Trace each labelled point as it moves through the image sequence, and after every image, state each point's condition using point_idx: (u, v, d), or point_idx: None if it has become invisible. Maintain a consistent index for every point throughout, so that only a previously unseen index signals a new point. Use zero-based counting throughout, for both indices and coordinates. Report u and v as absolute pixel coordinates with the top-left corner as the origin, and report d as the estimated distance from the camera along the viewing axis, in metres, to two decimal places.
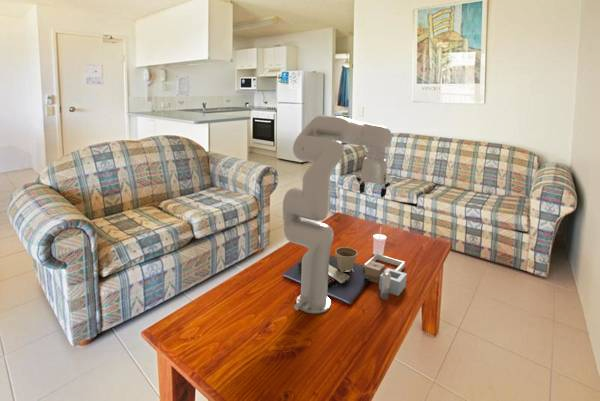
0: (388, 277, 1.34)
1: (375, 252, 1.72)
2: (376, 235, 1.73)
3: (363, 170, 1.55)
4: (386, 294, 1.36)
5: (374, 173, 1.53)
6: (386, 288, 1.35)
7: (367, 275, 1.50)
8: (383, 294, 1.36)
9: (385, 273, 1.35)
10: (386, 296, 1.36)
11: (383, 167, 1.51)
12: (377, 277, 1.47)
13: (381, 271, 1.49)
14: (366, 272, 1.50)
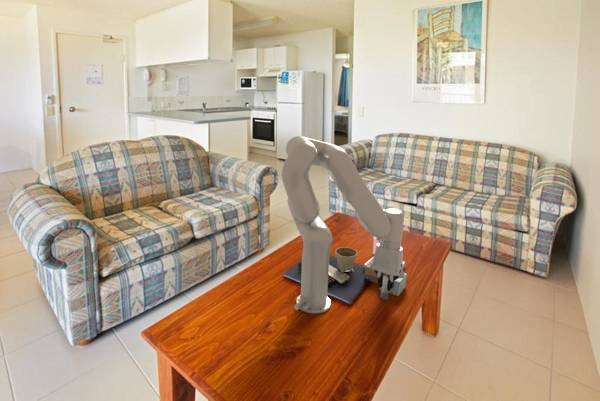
0: (388, 277, 1.34)
1: None
2: None
3: (375, 258, 1.33)
4: (386, 294, 1.36)
5: (388, 264, 1.31)
6: (386, 288, 1.35)
7: (367, 275, 1.50)
8: (383, 294, 1.36)
9: None
10: (386, 296, 1.36)
11: (399, 258, 1.29)
12: (377, 277, 1.47)
13: None
14: (366, 272, 1.49)
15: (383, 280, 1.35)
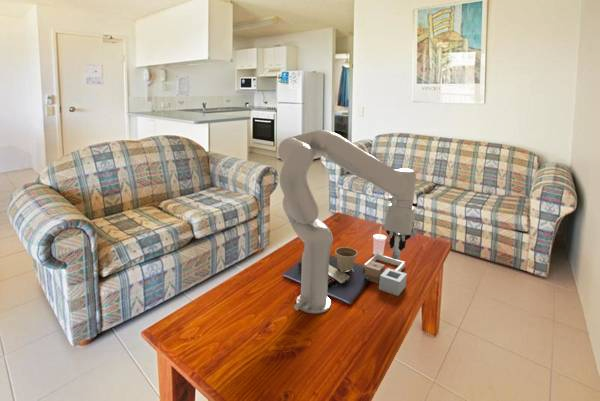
0: (400, 237, 1.36)
1: (375, 252, 1.72)
2: (376, 235, 1.73)
3: (387, 218, 1.36)
4: (398, 254, 1.39)
5: (400, 223, 1.33)
6: (398, 248, 1.38)
7: (367, 275, 1.50)
8: (394, 254, 1.39)
9: (397, 233, 1.38)
10: (398, 256, 1.39)
11: (411, 216, 1.31)
12: (377, 277, 1.47)
13: (381, 271, 1.49)
14: (366, 272, 1.49)
15: (395, 240, 1.37)
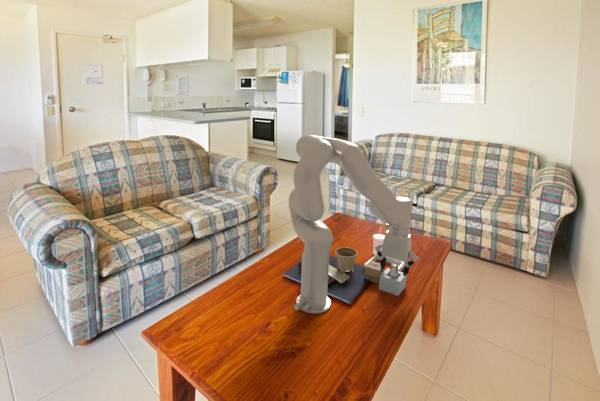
0: (396, 269, 1.40)
1: (375, 252, 1.72)
2: (376, 235, 1.73)
3: (384, 245, 1.39)
4: None
5: (397, 250, 1.36)
6: None
7: (367, 275, 1.50)
8: None
9: (393, 265, 1.41)
10: None
11: (408, 244, 1.34)
12: (377, 277, 1.47)
13: (381, 271, 1.49)
14: (366, 272, 1.49)
15: (391, 272, 1.41)
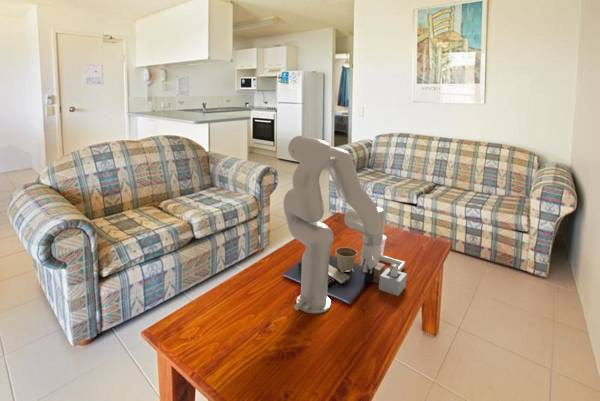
0: (396, 269, 1.40)
1: None
2: None
3: None
4: None
5: None
6: None
7: None
8: None
9: (393, 265, 1.41)
10: None
11: (362, 251, 1.40)
12: (377, 277, 1.47)
13: (381, 271, 1.49)
14: None
15: (391, 272, 1.41)
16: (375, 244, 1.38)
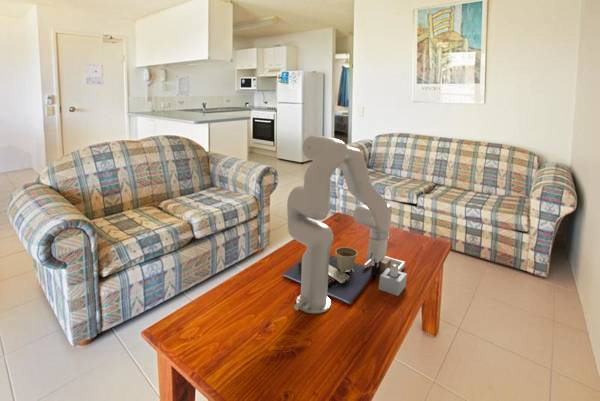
0: (396, 269, 1.40)
1: None
2: None
3: None
4: None
5: None
6: None
7: None
8: None
9: (393, 265, 1.41)
10: None
11: (369, 245, 1.45)
12: (384, 270, 1.53)
13: (388, 264, 1.54)
14: None
15: (391, 272, 1.41)
16: (382, 238, 1.43)
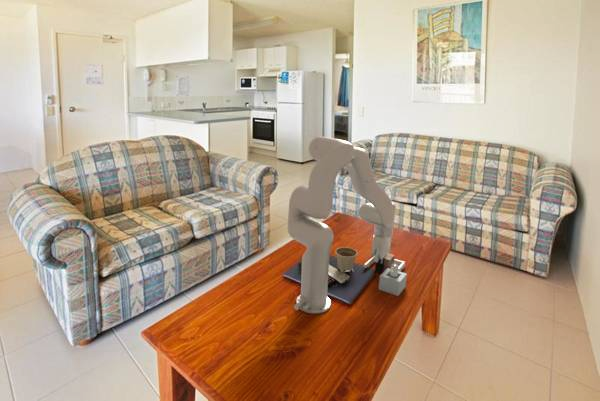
0: (396, 269, 1.40)
1: None
2: None
3: None
4: None
5: None
6: None
7: None
8: None
9: (393, 265, 1.41)
10: None
11: (373, 242, 1.48)
12: (387, 266, 1.56)
13: (391, 261, 1.57)
14: None
15: (391, 272, 1.41)
16: (386, 235, 1.47)
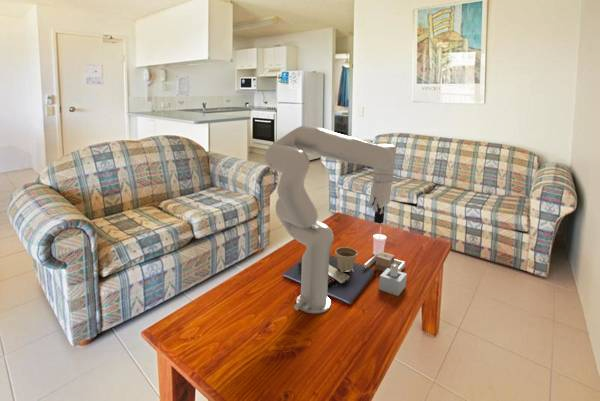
0: (396, 269, 1.40)
1: (375, 252, 1.72)
2: (376, 235, 1.73)
3: None
4: None
5: None
6: None
7: (378, 265, 1.58)
8: None
9: (393, 265, 1.41)
10: None
11: (372, 189, 1.36)
12: (388, 267, 1.56)
13: (391, 261, 1.57)
14: (377, 262, 1.58)
15: (391, 272, 1.41)
16: (386, 181, 1.34)
